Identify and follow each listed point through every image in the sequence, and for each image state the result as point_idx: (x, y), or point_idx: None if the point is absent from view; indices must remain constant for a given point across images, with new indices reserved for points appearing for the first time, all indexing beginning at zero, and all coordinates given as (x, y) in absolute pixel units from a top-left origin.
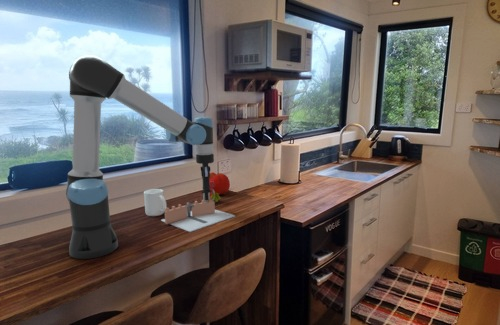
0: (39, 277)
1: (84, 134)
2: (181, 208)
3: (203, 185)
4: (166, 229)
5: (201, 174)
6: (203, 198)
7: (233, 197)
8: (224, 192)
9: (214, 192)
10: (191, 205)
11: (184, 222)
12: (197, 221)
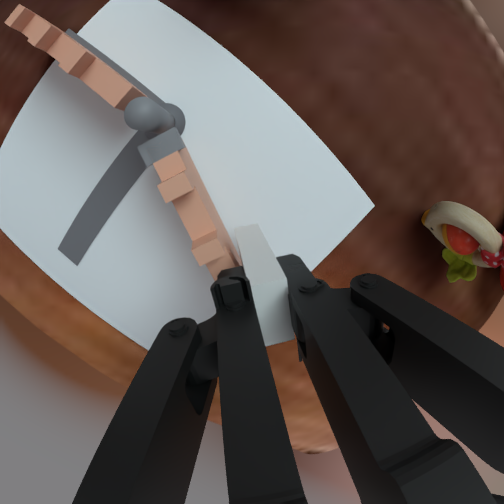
0: None
1: None
2: (82, 80)
3: (220, 376)
4: (7, 74)
5: (434, 492)
6: (242, 256)
7: (463, 312)
8: (500, 280)
9: (478, 265)
10: (139, 146)
11: (64, 128)
12: (80, 202)
